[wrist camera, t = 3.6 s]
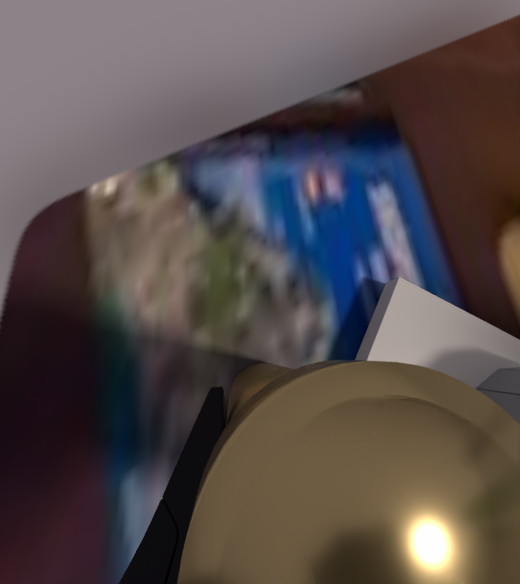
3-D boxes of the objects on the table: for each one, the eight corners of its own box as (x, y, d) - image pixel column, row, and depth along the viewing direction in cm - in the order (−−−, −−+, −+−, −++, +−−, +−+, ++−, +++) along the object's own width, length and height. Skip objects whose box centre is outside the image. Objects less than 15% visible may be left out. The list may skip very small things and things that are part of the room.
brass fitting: (282, 461, 15) (564, 1048, 2) (205, 419, 15) (66, 771, 2) (317, 379, 16) (633, 471, 3) (246, 341, 16) (299, 295, 4)
